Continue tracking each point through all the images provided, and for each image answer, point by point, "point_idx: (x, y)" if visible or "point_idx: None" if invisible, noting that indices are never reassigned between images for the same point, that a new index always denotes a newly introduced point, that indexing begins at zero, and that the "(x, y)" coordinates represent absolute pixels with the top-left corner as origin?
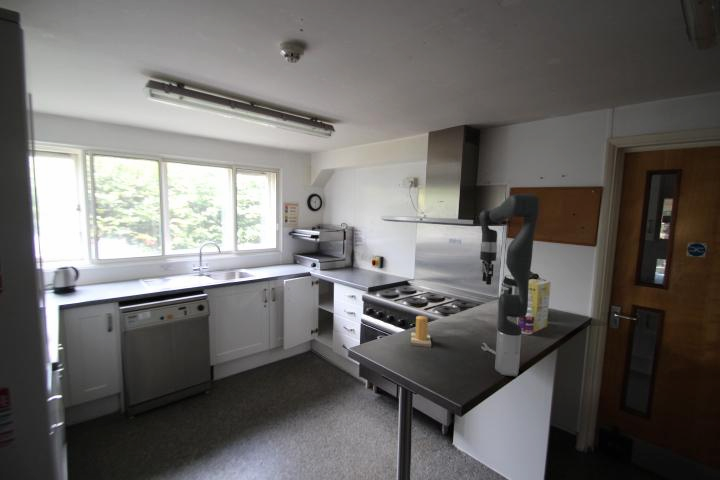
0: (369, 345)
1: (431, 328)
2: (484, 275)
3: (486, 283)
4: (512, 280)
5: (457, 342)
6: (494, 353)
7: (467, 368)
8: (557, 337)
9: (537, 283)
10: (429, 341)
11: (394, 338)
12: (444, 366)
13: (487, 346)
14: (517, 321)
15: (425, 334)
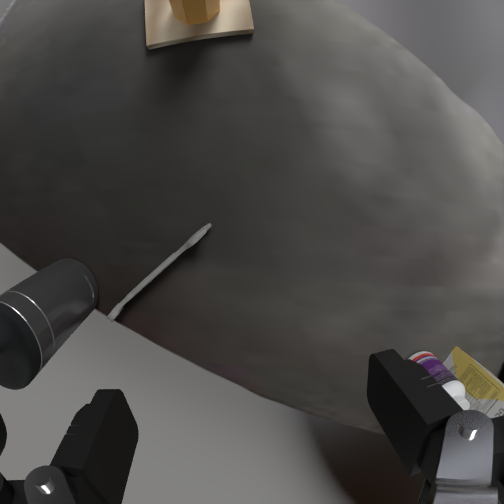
0: None
1: (352, 41)
2: (409, 428)
3: (96, 395)
4: None
5: (237, 132)
6: (157, 267)
7: (40, 181)
8: None
9: None
10: (172, 36)
11: None
12: (31, 119)
13: (186, 247)
14: (464, 356)
15: (179, 11)
